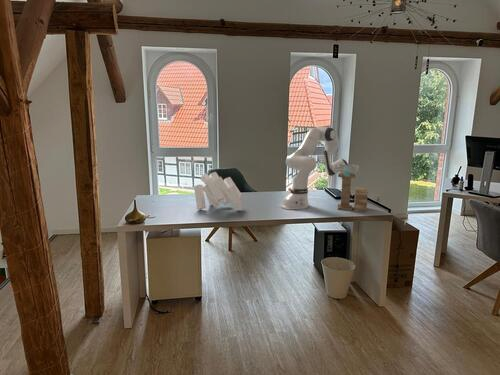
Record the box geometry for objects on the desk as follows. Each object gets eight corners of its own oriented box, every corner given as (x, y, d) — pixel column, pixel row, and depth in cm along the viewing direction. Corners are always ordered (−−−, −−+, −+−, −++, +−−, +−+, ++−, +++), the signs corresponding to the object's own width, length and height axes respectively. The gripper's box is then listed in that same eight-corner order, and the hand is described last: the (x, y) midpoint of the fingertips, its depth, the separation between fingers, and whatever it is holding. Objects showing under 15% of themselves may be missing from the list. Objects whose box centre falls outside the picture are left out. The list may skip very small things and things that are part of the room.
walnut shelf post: (336, 206, 269) (338, 172, 264) (352, 206, 267) (354, 173, 261) (336, 209, 260) (338, 175, 254) (353, 210, 257) (355, 175, 251)
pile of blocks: (245, 210, 276) (232, 169, 282) (247, 206, 247) (231, 160, 252) (203, 224, 273) (190, 182, 278) (199, 221, 244) (185, 175, 249)
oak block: (354, 206, 267) (355, 187, 264) (365, 207, 265) (366, 188, 262) (354, 211, 256) (356, 191, 253) (366, 211, 254) (367, 191, 251)
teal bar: (343, 171, 270) (344, 166, 269) (348, 171, 269) (348, 166, 269) (344, 176, 249) (344, 171, 249) (349, 176, 249) (349, 171, 248)
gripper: (332, 166, 293) (333, 160, 280) (358, 167, 288) (359, 161, 275) (332, 173, 291) (332, 168, 278) (358, 174, 287) (359, 168, 274)
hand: (346, 164), depth 277 cm, fingers open, 8 cm apart
